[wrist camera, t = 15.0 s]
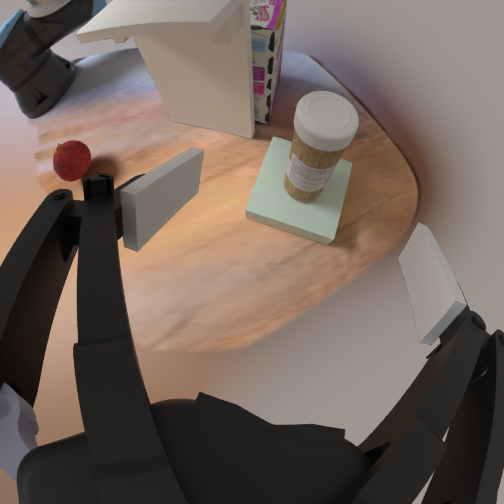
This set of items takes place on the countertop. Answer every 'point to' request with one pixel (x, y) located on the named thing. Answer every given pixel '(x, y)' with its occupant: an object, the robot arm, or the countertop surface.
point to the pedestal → (290, 210)
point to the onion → (71, 160)
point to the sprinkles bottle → (318, 142)
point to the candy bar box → (266, 53)
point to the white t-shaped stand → (190, 56)
